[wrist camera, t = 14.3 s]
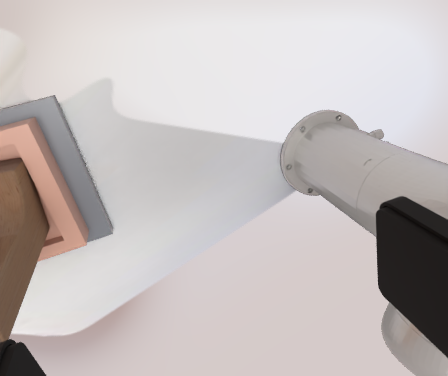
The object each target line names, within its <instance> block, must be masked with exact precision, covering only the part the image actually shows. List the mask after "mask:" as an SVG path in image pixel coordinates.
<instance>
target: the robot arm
mask: <svg viewBox="0 0 448 376" xmlns="http://www.w3.org/2000/svg"><path fill="white" fill-rule="evenodd" d="M300 128H301V129H300ZM383 137H384V134H383V131H382V130H381V129H379V130H375V131H372V132H371V133H367V132H364V131H362V130H359V128H358V126H357V125H356V123H355V122H354V121H353V120H352V119H351V118H350V117H349V116H347V115H345V114H343V113H341V112H338V111H332V110H322V111H317V112H314V113H312V114H310V115H308V116H306V117H304V118H303V119H302V120H301V121H299V122H298V123H297V124H296V125H295V126H294V127H293V128H292V130H291V131H290V133H289V134H288V136H287V138H286V140H285V142H284V144H283V148H282V152H281V168H282V172H283V175H284V177H285V179H286V180H287V182H288V183H289V184H290V185H291V186H292V187H293V188H294V189H296V190H297V191H299V192H301V193H303V194H306V195H315V196H317V195H321V196H323V197H324V198H325V199H326V200H328V201H329V202H331V203H332V204H333V205H334V206H336V207H337V208H338V209H340V210H341V211H342V212H344V213H345V214H346V215H348V216H349V217H350V218H351V219H353V220H354V221H355V222H357V223H358V224H359V225H361V226H362V227H364V228H365V229H366V230H368V231H369V232H370V233H372V234H373V235H374V236H376V239H377V265H378V266H377V267H378V286H379V289H380V291H381V293H382V295H383V296H384V297H385V298H386V299H387V300H388V301H389V304H388V306H387V308H386V311H385V313H384V316H383V319H382V325H381V329H382V335H383V338H384V341H385V343H386V345H387V347H388V348H389V349H390V351H391V352H392V354H393V355H394V356H395V357H396V358H397V359H398V360H399V361H400V362H401V363H402V364H403V365H404V366H405V367H406V368H407V369H408V370H410V371H411V372H412V373H414V374H415V375H416V376H448V164H446V163H443V162H440V161H437V160H433V159H431V158H428V157H425V156H423V155H420V154H417V153H414V152H412V151H409V150H406V149H404V148H401V147H398V146H396V145H393V144H390V143H389V142H385V141H382V140H380V139H382V138H383ZM0 376H46V374H45V373H44V372H43V370H42V369H41V368H40V366H39V364H38V363H37V361H36V360H35V359H34V357H33V356H32V354H31V353H30V351H29V350H28V349H27V347H26V346H25V345H24V343H22V342H19V343H16V342H15V341H14V340H11V339H9V340H6V341H3V342H0Z"/></svg>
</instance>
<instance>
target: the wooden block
mask: <svg viewBox="0 0 448 376" xmlns="http://www.w3.org/2000/svg"><path fill="white" fill-rule="evenodd" d="M49 229H50V227H49V224H48V221H47V218H46V215H45V212H44V209H43V206H42V204H41V201H40V198H39V195H38V192H37V189H36V186H35V184H34V181H33V179H32V177H31V176H30V174H29V172H28V170H27V168H26V166H25V164H24V162H23V160H22V158H15V159H9V160H3V161H0V342H3V341H6V340H8V339H9V336H10V334H11V331H12V328H13V326H14V323H15V320H16V317H17V315H18V312H19V309H20V307H21V304H22V301H23V299H24V296H25V293H26V291H27V288H28V285H29V283H30V280H31V277H32V275H33V272H34V269H35V267H36V264H37V261H38V259H39V256H40V253H41V250H42V248H43V245H44V242H45V240H46V237H47V234H48V232H49Z"/></svg>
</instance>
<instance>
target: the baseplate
mask: <svg viewBox="0 0 448 376" xmlns="http://www.w3.org/2000/svg"><path fill="white" fill-rule="evenodd" d="M15 158H22V160H23V162H24V164H25V166H26V168H27V170H28V172H29V174H30V176H31V177H32V179H33V181H34V184H35V186H36V189H37V192H38V195H39V198H40V201H41V204H42V206H43V209H44V212H45V215H46V218H47V221H48V224H49V227H50V229H49V232H48V234H47V237H46V240H45V242H44V245H43V248H42V250H41V253H40V256H39V259H38V261H41V260H44V259H47V258H50V257H53V256H56V255H59V254H62V253H65V252H68V251H70V250H73V249H76V248H79V247H82V246H85V245H87V242H90V241H93V240H96V239H99V238H102V237H105V236H108V235H111V234H113V228H112V225H111V223H110V221H109V218H108V216H107V214H106V212H105V209H104V207H103V205H102V202H101V200H100V198H99V195H98V193H97V191H96V189H95V186H94V184H93V182H92V179H91V177H90V175H89V172H88V170H87V168H86V166H85V163H84V161H83V159H82V156H81V154H80V152H79V149H78V147H77V145H76V143H75V140H74V138H73V136H72V133H71V131H70V129H69V126H68V124H67V122H66V120H65V117H64V115H63V113H62V110H61V108H60V106H59V104H58V101H57V99H56V97H55V95H53V96H50V97H46V98H42V99H38V100H35V101H31V102H27V103H23V104H19V105H16V106H12V107H8V108H4V109H1V110H0V161H3V160H9V159H15ZM38 261H37V262H38Z"/></svg>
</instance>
